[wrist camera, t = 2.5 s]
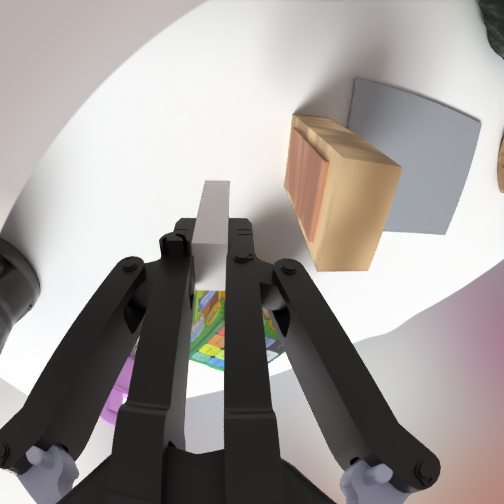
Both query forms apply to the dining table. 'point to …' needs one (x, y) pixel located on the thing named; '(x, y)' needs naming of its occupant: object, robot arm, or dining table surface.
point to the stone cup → (501, 168)
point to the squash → (494, 23)
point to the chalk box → (221, 330)
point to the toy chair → (118, 393)
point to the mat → (416, 152)
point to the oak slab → (338, 192)
